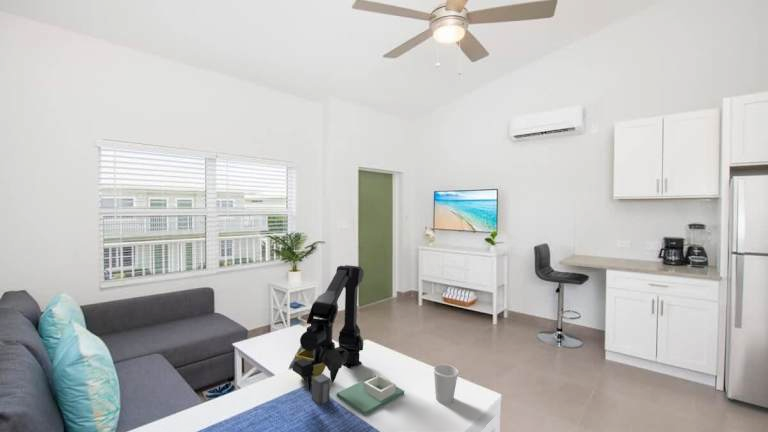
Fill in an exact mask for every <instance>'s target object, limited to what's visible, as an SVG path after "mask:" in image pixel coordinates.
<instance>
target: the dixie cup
mask: <svg viewBox="0 0 768 432" xmlns="http://www.w3.org/2000/svg"><path fill="white" fill-rule="evenodd" d="M459 372H460V371H459V370H458V368H456V367H455V366H453V365H449V364H444V363H443V364H437V365H435V366H434V367H433V377H434V378H433V379H434V388H435V389H434V391H435V392H434V394H435V400H436V401H437V402H438V403H441V404H442V405H450V404H452V403H453V401H454V398H455V397H454V396H455V392H456V386H457V381H458V376H459V374H460V373H459Z"/></svg>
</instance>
